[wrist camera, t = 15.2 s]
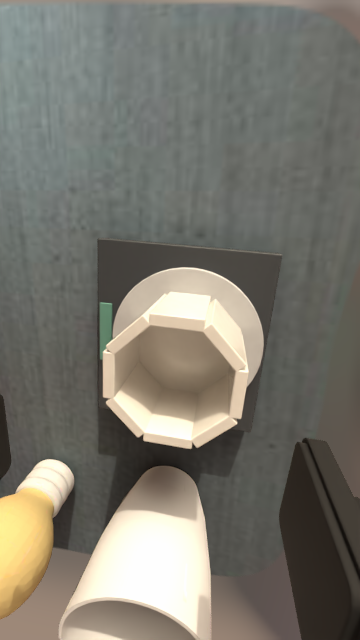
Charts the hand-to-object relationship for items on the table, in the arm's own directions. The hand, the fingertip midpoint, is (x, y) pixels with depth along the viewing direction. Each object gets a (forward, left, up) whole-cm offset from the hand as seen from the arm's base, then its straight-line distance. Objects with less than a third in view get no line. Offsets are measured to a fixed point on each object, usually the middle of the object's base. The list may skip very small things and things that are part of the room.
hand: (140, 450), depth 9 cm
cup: (+14, 0, -12) cm, 18 cm away
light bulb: (+15, -10, -12) cm, 21 cm away
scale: (0, 0, -12) cm, 12 cm away
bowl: (0, 0, -10) cm, 10 cm away
